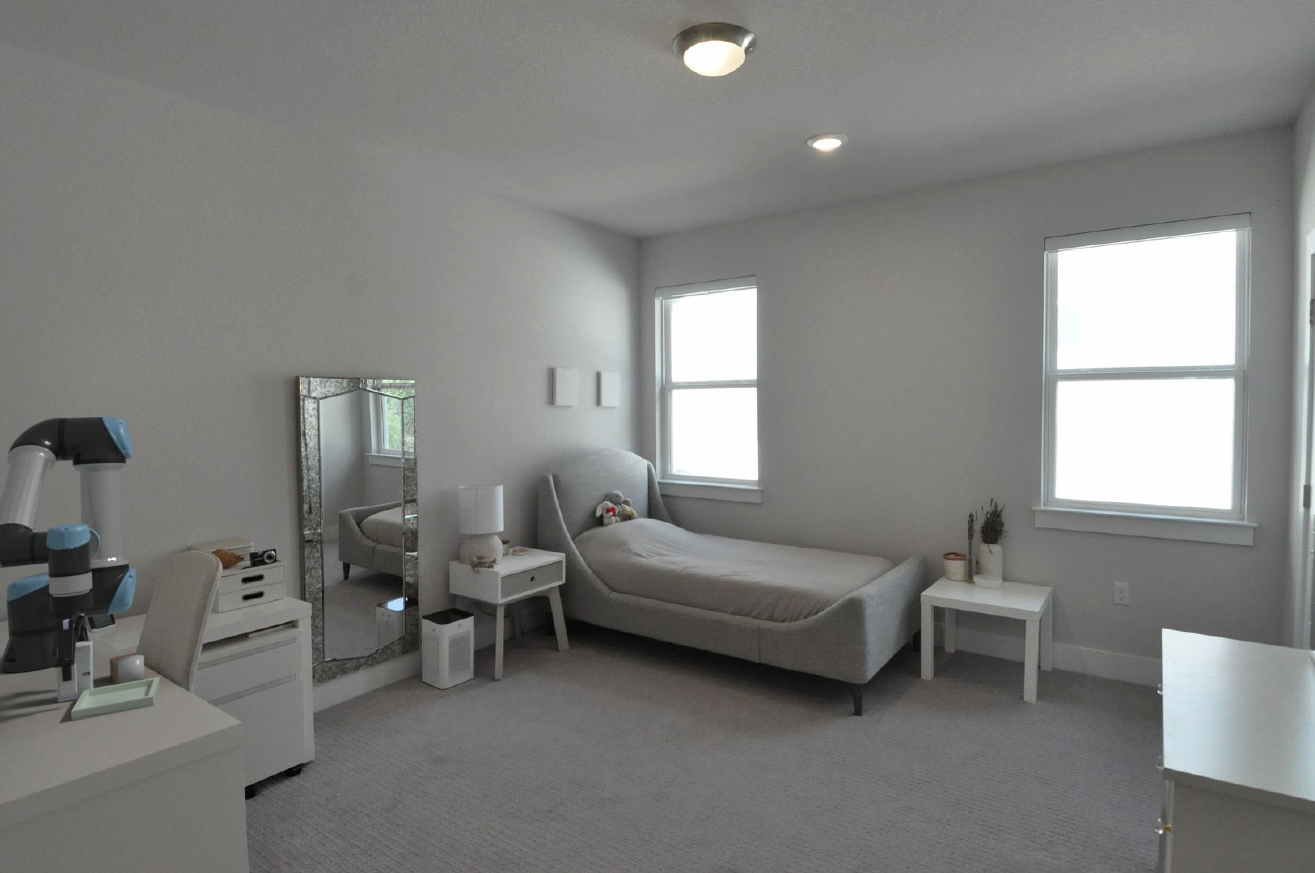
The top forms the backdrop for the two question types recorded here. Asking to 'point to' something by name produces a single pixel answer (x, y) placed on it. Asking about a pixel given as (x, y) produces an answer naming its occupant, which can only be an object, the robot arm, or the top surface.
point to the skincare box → (80, 670)
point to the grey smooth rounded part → (131, 669)
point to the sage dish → (116, 698)
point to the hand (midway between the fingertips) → (75, 685)
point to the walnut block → (116, 666)
